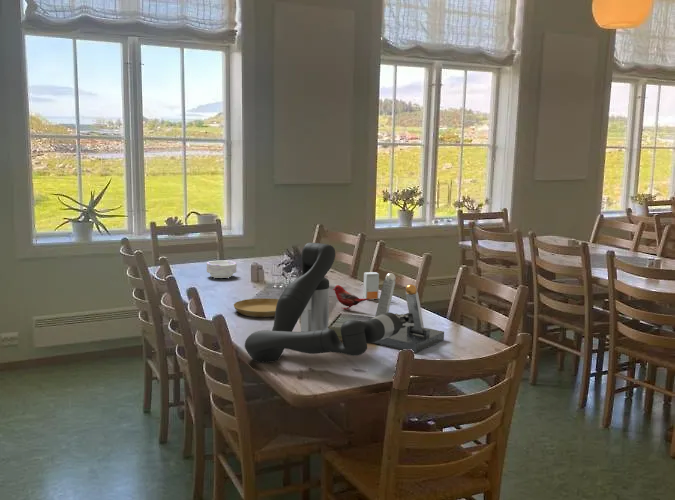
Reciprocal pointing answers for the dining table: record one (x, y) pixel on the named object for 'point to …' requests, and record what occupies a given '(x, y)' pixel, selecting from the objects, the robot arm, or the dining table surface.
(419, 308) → the orange lever
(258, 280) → the dining table surface
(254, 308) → the plant saucer
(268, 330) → the robot arm
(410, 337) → the switch panel
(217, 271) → the white footed bowl
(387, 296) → the white lever
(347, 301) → the decorative bird figurine
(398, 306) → the dining table surface
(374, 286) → the skincare box
